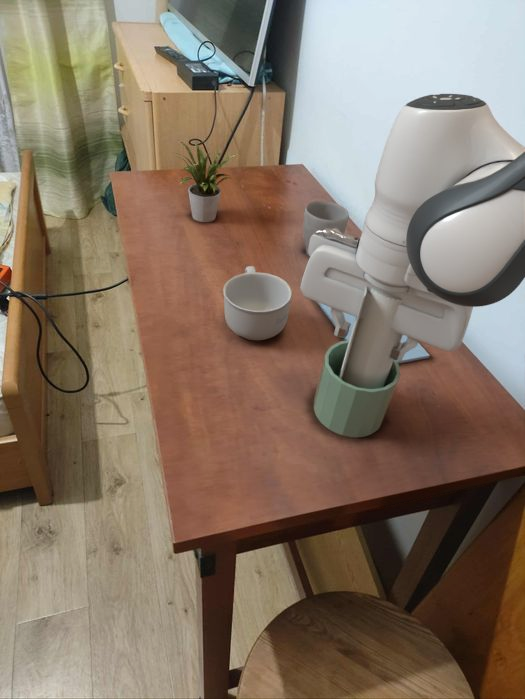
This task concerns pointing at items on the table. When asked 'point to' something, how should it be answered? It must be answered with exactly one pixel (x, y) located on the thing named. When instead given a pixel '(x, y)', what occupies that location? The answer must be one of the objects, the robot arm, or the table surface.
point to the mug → (323, 219)
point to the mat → (409, 356)
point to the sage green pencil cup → (350, 398)
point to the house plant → (204, 185)
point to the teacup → (256, 304)
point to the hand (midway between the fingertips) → (368, 346)
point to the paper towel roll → (372, 343)
